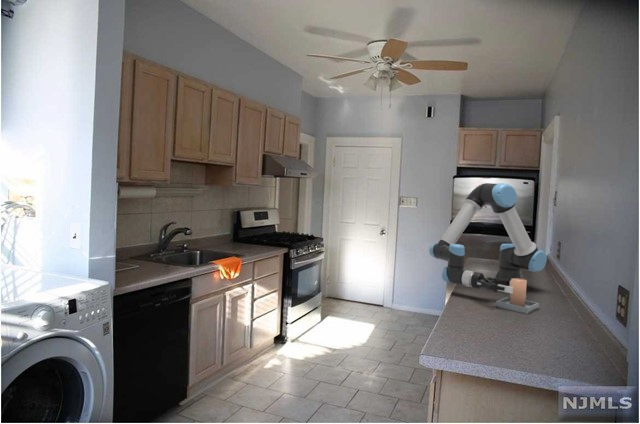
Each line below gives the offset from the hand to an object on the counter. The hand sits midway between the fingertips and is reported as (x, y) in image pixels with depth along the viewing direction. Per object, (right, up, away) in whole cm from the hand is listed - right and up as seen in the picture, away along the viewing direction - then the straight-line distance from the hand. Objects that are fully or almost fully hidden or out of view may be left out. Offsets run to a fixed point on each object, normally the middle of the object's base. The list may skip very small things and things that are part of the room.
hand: (518, 288), depth 200 cm
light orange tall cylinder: (0, -8, +1) cm, 8 cm away
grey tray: (0, -9, +1) cm, 9 cm away
